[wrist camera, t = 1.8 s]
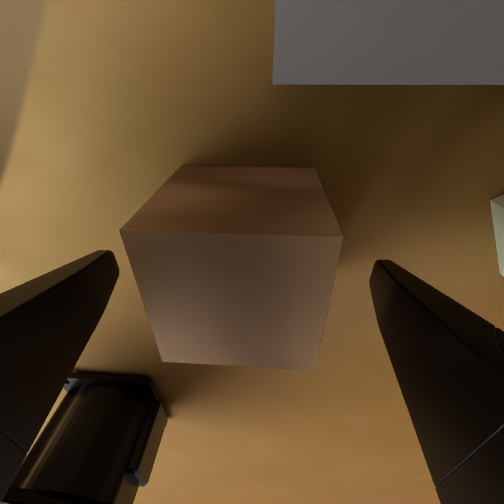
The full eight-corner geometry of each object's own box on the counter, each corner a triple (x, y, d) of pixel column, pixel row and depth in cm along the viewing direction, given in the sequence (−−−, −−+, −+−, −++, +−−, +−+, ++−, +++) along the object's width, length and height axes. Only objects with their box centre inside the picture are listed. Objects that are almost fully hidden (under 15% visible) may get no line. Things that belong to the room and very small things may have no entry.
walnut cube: (197, 269, 13) (162, 361, 9) (181, 165, 10) (119, 230, 6) (301, 272, 13) (314, 370, 9) (314, 166, 10) (343, 237, 6)
